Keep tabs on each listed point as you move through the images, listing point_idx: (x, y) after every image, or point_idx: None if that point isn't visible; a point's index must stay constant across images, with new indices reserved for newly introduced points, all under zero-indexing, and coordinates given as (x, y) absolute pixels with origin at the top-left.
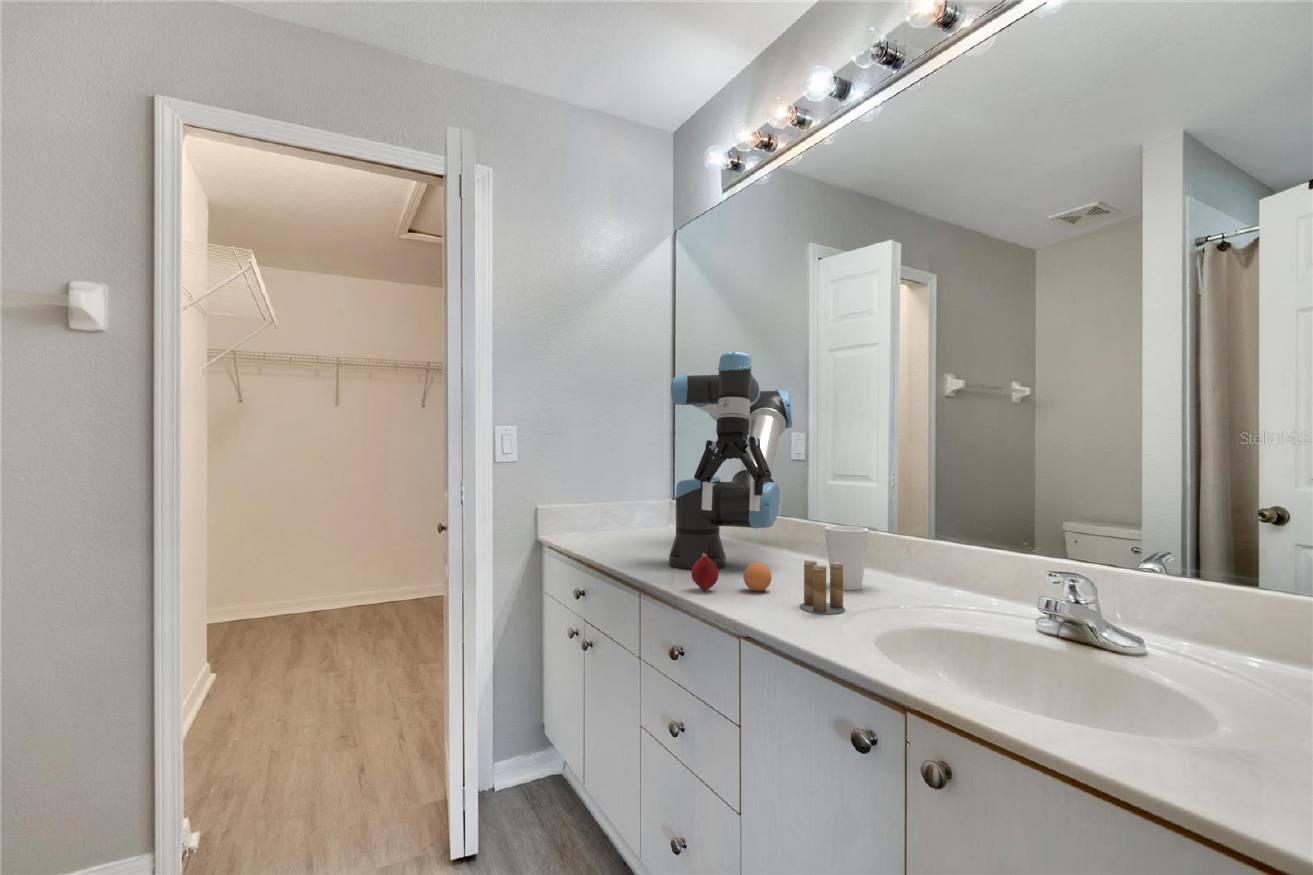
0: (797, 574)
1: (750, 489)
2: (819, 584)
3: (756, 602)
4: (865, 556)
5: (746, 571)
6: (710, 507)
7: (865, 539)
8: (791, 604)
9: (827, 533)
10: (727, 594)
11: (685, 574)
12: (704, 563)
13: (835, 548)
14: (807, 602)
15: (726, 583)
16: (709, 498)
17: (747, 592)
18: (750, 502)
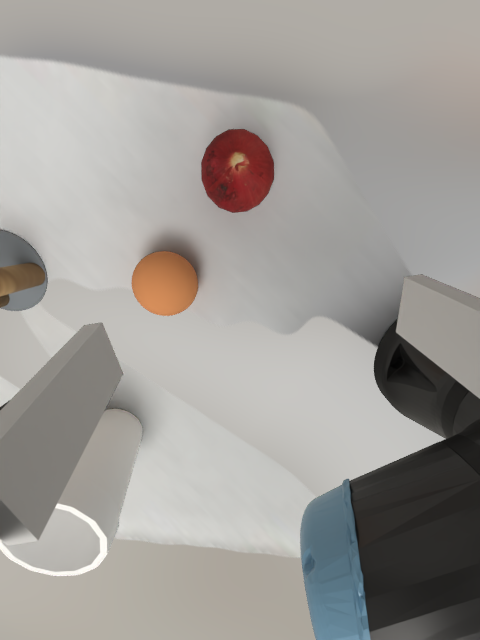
0: (236, 439)
1: (30, 400)
2: None
3: (97, 200)
4: None
5: (168, 257)
6: (407, 331)
7: None
8: (54, 249)
9: (72, 492)
10: (183, 200)
11: (389, 265)
12: (218, 146)
13: None
14: (24, 263)
15: (262, 276)
16: (445, 345)
17: (174, 252)
18: (77, 345)
